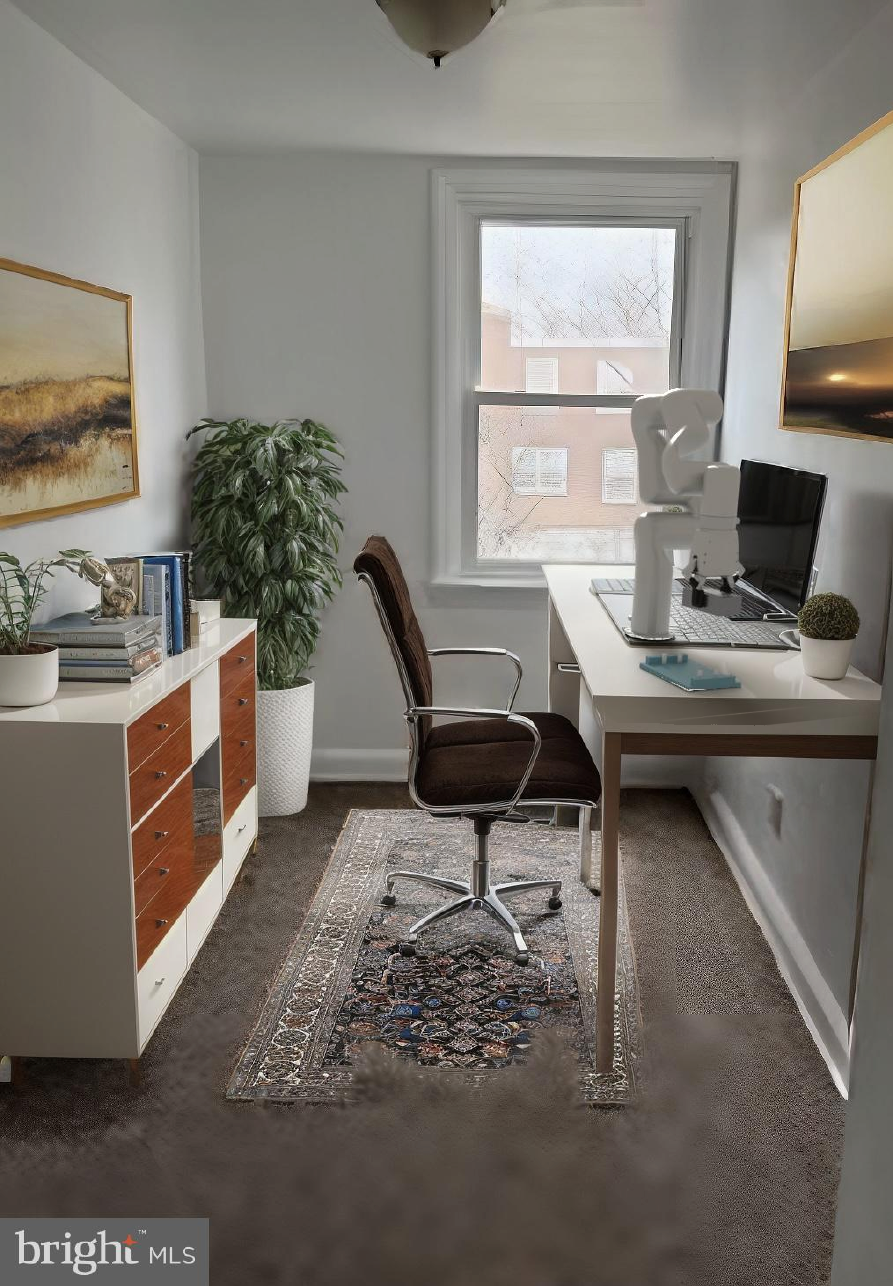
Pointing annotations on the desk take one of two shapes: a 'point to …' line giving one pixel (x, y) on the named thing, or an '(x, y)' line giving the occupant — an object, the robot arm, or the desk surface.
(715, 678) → the blue pegged tray
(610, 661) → the desk surface
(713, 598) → the block
